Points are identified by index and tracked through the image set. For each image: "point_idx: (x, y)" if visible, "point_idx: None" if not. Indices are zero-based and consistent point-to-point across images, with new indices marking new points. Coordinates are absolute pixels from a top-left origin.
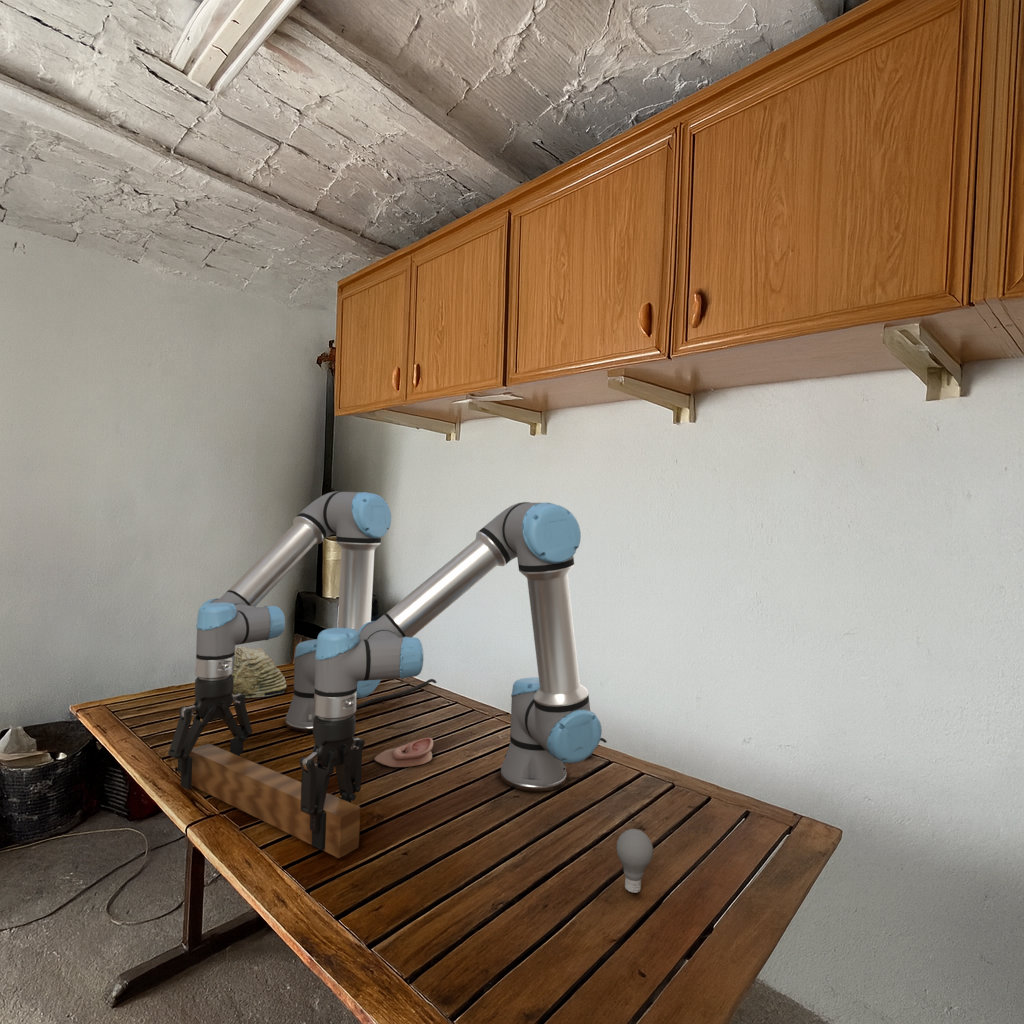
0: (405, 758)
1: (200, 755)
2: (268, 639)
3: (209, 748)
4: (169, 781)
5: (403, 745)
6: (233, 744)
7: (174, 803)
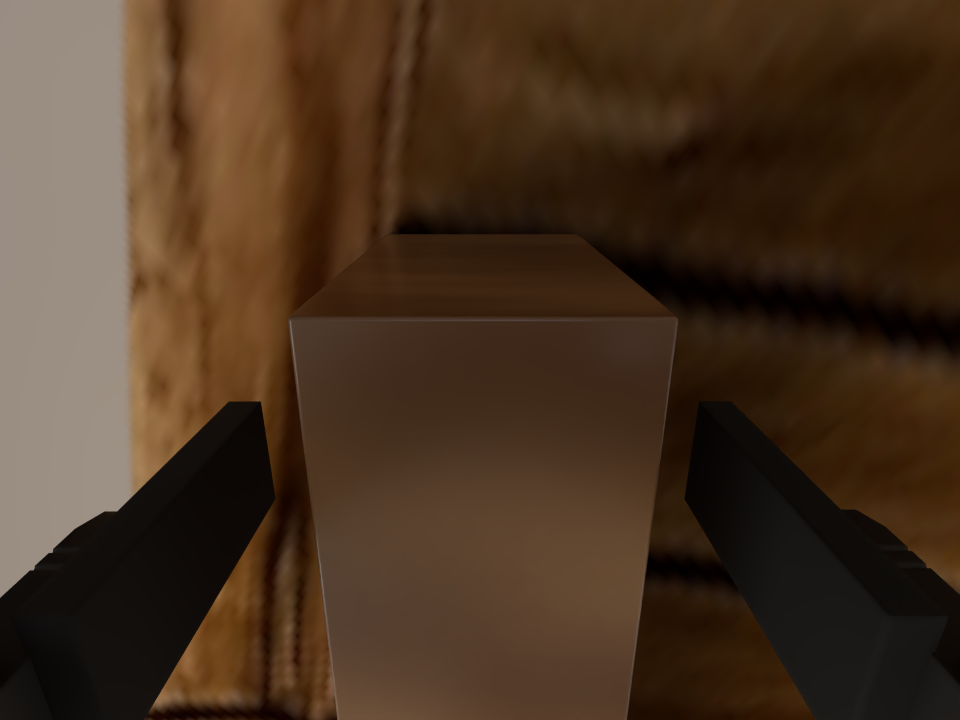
0: None
1: (326, 607)
2: None
3: (542, 509)
4: (299, 48)
5: None
6: (831, 635)
7: None
